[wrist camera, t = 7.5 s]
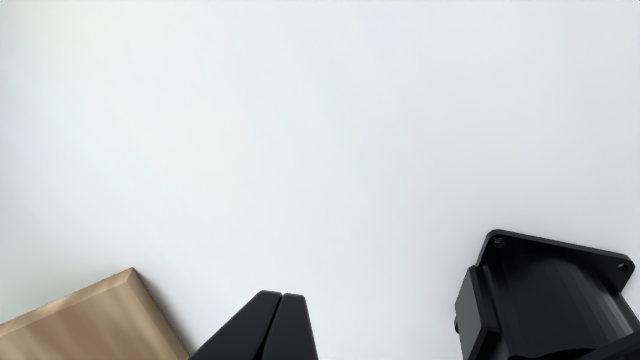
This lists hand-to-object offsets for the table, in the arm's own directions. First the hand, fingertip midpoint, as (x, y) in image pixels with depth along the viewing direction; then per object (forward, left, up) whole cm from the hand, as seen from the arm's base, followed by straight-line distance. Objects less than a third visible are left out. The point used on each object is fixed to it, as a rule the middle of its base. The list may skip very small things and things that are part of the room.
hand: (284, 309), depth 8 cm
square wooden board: (+9, +16, -12) cm, 22 cm away
